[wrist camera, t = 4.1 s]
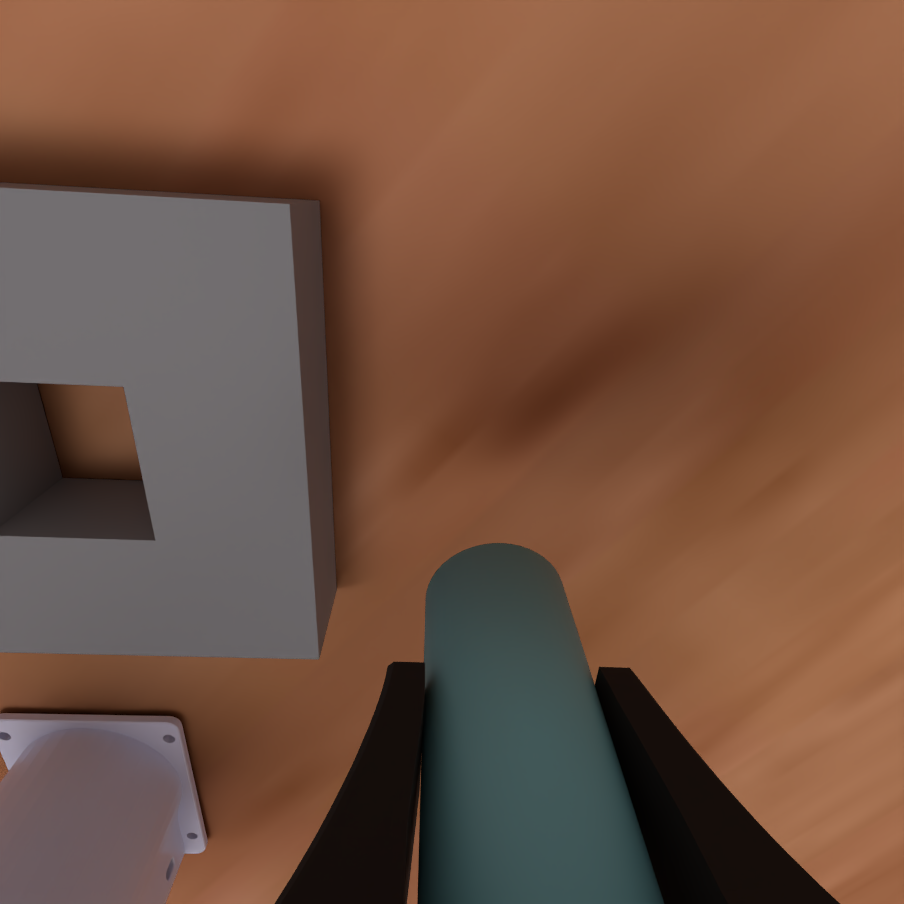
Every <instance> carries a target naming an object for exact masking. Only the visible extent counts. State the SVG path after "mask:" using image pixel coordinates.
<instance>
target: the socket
mask: <svg viewBox="0 0 904 904" xmlns="http://www.w3.org/2000/svg"><path fill="white" fill-rule="evenodd" d="M37 383H46V384H70V385H93V386H117V387H124V391H125V396H126V401H127V406H128V411H129V416H130V420H131V425H132V430H133V435H134V440H135V444H136V449H137V454H138V459H139V464H140V469H141V473H142V478H143V481H139V480H110V479H82V478H63V477H62V473H61V470H60V466H59V462H58V459H57V455H56V452H55V448H54V444H53V441H52V437H51V433H50V430H49V426H48V423H47V419H46V415H45V412H44V408H43V405H42V401H41V397H40V394H39V390H38V386H37ZM336 590H337V586H336V563H335V541H334V518H333V495H332V472H331V449H330V427H329V404H328V381H327V358H326V335H325V313H324V290H323V267H322V244H321V221H320V201H319V200H301V199H284V198H266V197H249V196H231V195H214V194H196V193H179V192H161V191H144V190H126V189H109V188H91V187H74V186H56V185H39V184H21V183H4V182H0V652H9V653H54V654H99V655H144V656H190V657H235V658H280V659H319V658H320V654H321V650H322V646H323V642H324V638H325V634H326V630H327V626H328V622H329V618H330V614H331V610H332V606H333V602H334V598H335V594H336Z"/></svg>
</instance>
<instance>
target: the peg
mask: <svg viewBox="0 0 904 904" xmlns="http://www.w3.org/2000/svg"><path fill="white" fill-rule="evenodd" d="M424 663H425V700H424V718H423V736H422V757H421V795H420V832H419V870H418V904H664V901H663V898H662V895H661V892H660V889H659V885H658V882H657V879H656V876H655V873H654V870H653V867H652V864H651V860H650V857H649V854H648V851H647V848H646V845H645V842H644V838H643V835H642V832H641V829H640V826H639V823H638V820H637V816H636V813H635V810H634V807H633V804H632V801H631V798H630V795H629V791H628V788H627V785H626V782H625V779H624V776H623V773H622V769H621V766H620V763H619V760H618V757H617V754H616V751H615V747H614V744H613V741H612V738H611V735H610V732H609V729H608V726H607V722H606V719H605V716H604V713H603V710H602V707H601V704H600V700H599V697H598V694H597V691H596V688H595V685H594V682H593V678H592V675H591V672H590V669H589V666H588V663H587V660H586V656H585V653H584V650H583V647H582V644H581V641H580V638H579V635H578V631H577V628H576V625H575V622H574V619H573V616H572V613H571V609H570V606H569V603H568V600H567V597H566V594H565V591H564V587H563V584H562V581H561V579H560V577H559V574H558V573H557V571H556V570H555V568H554V567H553V566H552V565H551V563H550V562H548V561H547V560H546V559H545V558H544V557H542V556H541V555H539V554H538V553H536V552H534V551H532V550H530V549H528V548H525V547H522V546H518V545H513V544H505V543H491V544H483V545H479V546H475V547H472V548H469V549H466V550H464V551H462V552H460V553H458V554H456V555H454V556H453V557H451V558H450V559H448V560H447V561H446V562H445V563H444V564H442V565H441V567H440V568H439V569H438V570H437V571H436V573H435V574H434V575H433V577H432V579H431V581H430V583H429V585H428V589H427V593H426V606H425V643H424Z"/></svg>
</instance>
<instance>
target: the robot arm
mask: <svg viewBox="0 0 904 904" xmlns="http://www.w3.org/2000/svg"><path fill="white" fill-rule="evenodd" d="M595 688H596V691H597V694H598V697H599V700H600V704H601V707H602V710H603V713H604V716H605V719H606V722H607V726H608V729H609V732H610V735H611V738H612V741H613V744H614V747H615V751H616V754H617V757H618V760H619V763H620V766H621V769H622V773H623V776H624V779H625V782H626V785H627V788H628V791H629V795H630V798H631V801H632V804H633V807H634V810H635V813H636V816H637V820H638V823H639V826H640V829H641V832H642V835H643V838H644V842H645V845H646V848H647V851H648V854H649V857H650V860H651V864H652V867H653V870H654V873H655V876H656V879H657V882H658V885H659V889H660V892H661V895H662V898H663V901H664V904H840V903H839V902H838V901H836V900H835V899H834V898H833V897H832V896H831V895H830V894H829V893H828V892H827V891H826V890H825V889H824V888H823V887H821V886H820V885H819V884H818V883H817V882H816V881H815V880H814V879H813V878H812V877H811V876H810V875H809V874H808V873H807V872H806V871H805V870H804V869H803V868H802V867H801V866H800V865H799V864H798V863H797V862H796V861H795V860H794V859H793V858H792V857H791V856H790V855H789V854H788V853H787V852H786V851H785V850H784V849H783V848H782V847H781V846H780V845H779V844H778V843H777V842H776V841H775V840H774V839H773V838H772V837H771V836H770V835H769V833H768V832H767V831H766V830H765V829H764V828H763V827H762V826H761V825H760V824H759V823H758V822H757V821H756V820H755V819H754V817H753V816H752V815H751V814H750V813H749V812H748V811H747V810H746V809H745V808H744V806H743V805H742V804H741V803H740V802H739V801H738V800H737V799H736V798H735V797H734V795H733V794H732V793H731V792H730V791H729V790H728V789H727V787H726V786H725V785H724V784H723V783H722V782H721V781H720V779H719V778H718V777H717V776H716V775H715V774H714V772H713V771H712V770H711V769H710V768H709V766H708V765H707V764H706V763H705V762H704V760H703V759H702V758H701V757H700V756H699V754H698V753H697V752H696V751H695V750H694V749H693V747H692V746H691V745H690V744H689V742H688V741H687V740H686V739H685V738H684V736H683V735H682V734H681V733H680V731H679V730H678V729H677V728H676V726H675V725H674V724H673V722H672V721H671V720H670V719H669V717H668V716H667V715H666V714H665V712H664V711H663V710H662V708H661V707H660V706H659V705H658V703H657V702H656V701H655V699H654V698H653V697H652V696H651V694H650V693H649V692H648V690H647V689H646V688H645V686H644V685H643V684H642V683H641V681H640V680H639V679H638V677H637V676H636V675H635V674H634V672H633V671H632V670H631V669H630V668H614V667H599V670H598V674H597V679H596V683H595ZM424 700H425V663H420V662H393V663H392V664H390V665H389V666H388V668H387V673H386V678H385V682H384V685H383V689H382V692H381V695H380V698H379V701H378V704H377V707H376V710H375V712H374V715H373V717H372V720H371V723H370V725H369V728H368V730H367V732H366V735H365V737H364V739H363V742H362V744H361V746H360V749H359V751H358V753H357V755H356V758H355V760H354V762H353V764H352V767H351V769H350V771H349V773H348V775H347V777H346V779H345V781H344V783H343V785H342V787H341V789H340V791H339V793H338V795H337V797H336V799H335V801H334V803H333V805H332V806H331V808H330V810H329V812H328V814H327V816H326V818H325V820H324V822H323V823H322V825H321V827H320V829H319V831H318V833H317V834H316V836H315V838H314V840H313V841H312V843H311V845H310V847H309V848H308V850H307V852H306V853H305V855H304V857H303V859H302V860H301V862H300V864H299V865H298V867H297V869H296V870H295V872H294V874H293V875H292V877H291V879H290V880H289V882H288V883H287V885H286V887H285V888H284V890H283V891H282V893H281V894H280V896H279V898H278V899H277V901H276V902H275V904H407V896H408V888H409V879H410V870H411V861H412V852H413V844H414V835H415V826H416V817H417V808H418V799H419V789H420V771H421V753H422V736H423V718H424ZM0 752H1V754H2V757H3V759H4V761H5V763H6V766H7V768H8V770H9V771H8V773H7V774H6V775H5V777H4V778H3V780H2V781H1V782H0V904H165V903H166V901H167V898H168V895H169V893H170V890H171V888H172V885H173V882H174V880H175V877H176V874H177V872H178V869H179V866H180V864H181V861H182V859H183V856H184V853H185V854H197V853H201V852H203V851H204V850H205V849H206V846H207V843H208V840H207V835H206V831H205V826H204V822H203V817H202V813H201V808H200V804H199V799H198V795H197V790H196V785H195V781H194V776H193V772H192V767H191V763H190V758H189V754H188V749H187V745H186V740H185V736H184V731H183V726H182V723H181V721H180V720H179V719H177V718H175V717H173V716H140V715H83V714H27V713H1V714H0Z"/></svg>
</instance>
